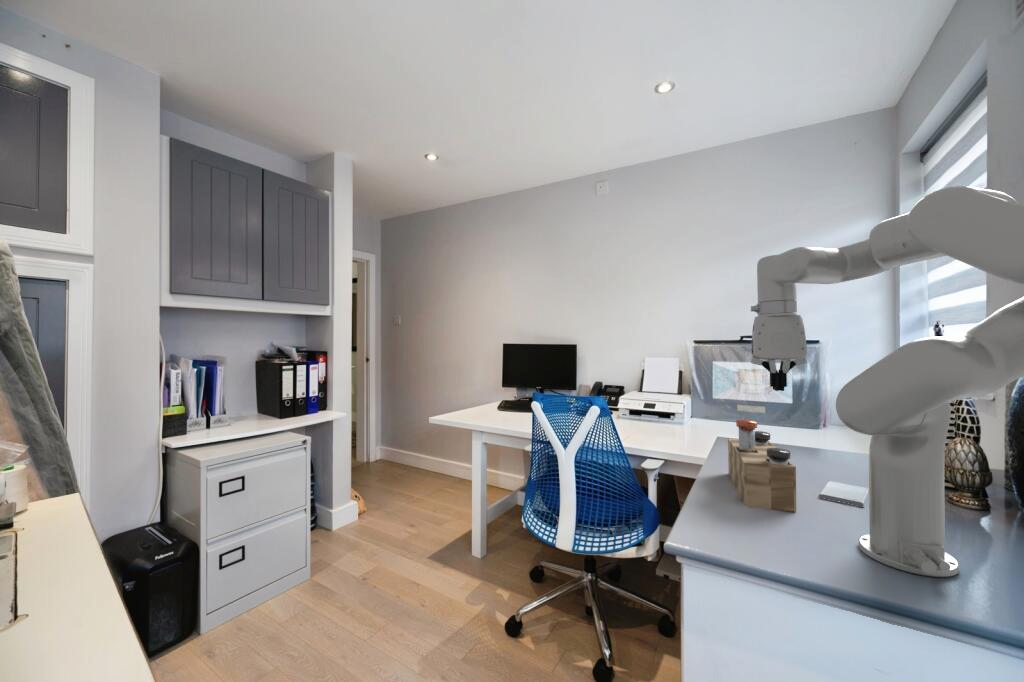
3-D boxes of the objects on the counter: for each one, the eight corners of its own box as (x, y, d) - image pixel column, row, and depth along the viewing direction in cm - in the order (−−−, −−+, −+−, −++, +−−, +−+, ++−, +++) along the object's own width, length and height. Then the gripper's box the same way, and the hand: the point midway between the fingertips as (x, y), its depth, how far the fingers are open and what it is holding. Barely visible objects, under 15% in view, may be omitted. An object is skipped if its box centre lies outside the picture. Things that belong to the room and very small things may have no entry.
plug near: (793, 507, 92) (793, 453, 92) (769, 504, 93) (769, 452, 93) (787, 499, 96) (787, 448, 96) (765, 497, 98) (764, 447, 98)
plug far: (772, 480, 109) (772, 435, 109) (753, 478, 110) (752, 434, 110) (768, 475, 113) (767, 431, 113) (749, 473, 115) (748, 430, 115)
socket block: (796, 512, 91) (795, 466, 91) (745, 506, 94) (744, 462, 94) (769, 477, 114) (768, 440, 114) (728, 473, 117) (728, 438, 117)
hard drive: (863, 502, 93) (869, 487, 102) (818, 493, 99) (827, 480, 107) (863, 510, 93) (869, 494, 102) (818, 500, 99) (827, 486, 108)
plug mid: (759, 471, 102) (758, 423, 102) (738, 469, 103) (738, 422, 103) (755, 465, 106) (754, 419, 106) (735, 464, 108) (734, 418, 108)
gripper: (743, 310, 93) (744, 391, 93) (822, 307, 88) (823, 393, 88) (737, 312, 100) (738, 387, 100) (809, 309, 95) (811, 389, 95)
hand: (778, 390), depth 94 cm, fingers closed
